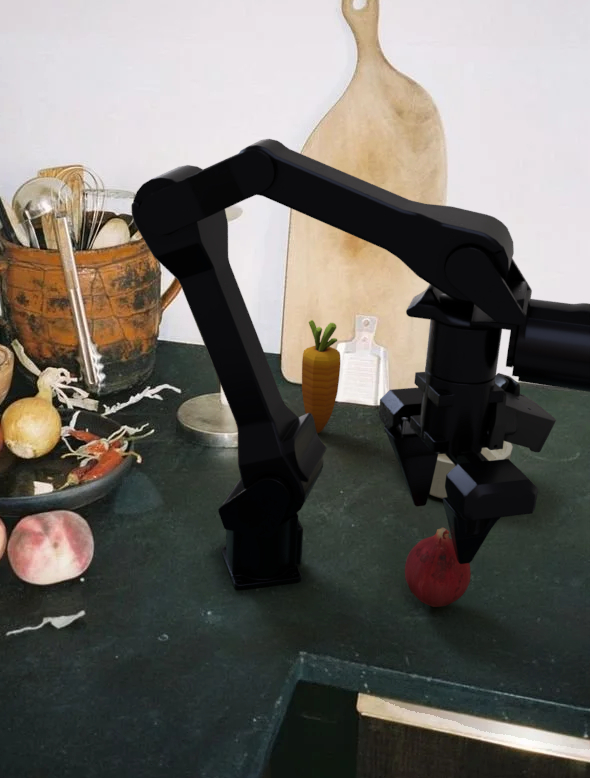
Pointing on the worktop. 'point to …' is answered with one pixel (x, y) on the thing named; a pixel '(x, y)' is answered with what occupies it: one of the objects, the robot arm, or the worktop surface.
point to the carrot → (320, 375)
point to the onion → (436, 571)
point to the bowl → (446, 466)
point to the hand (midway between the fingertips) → (440, 532)
